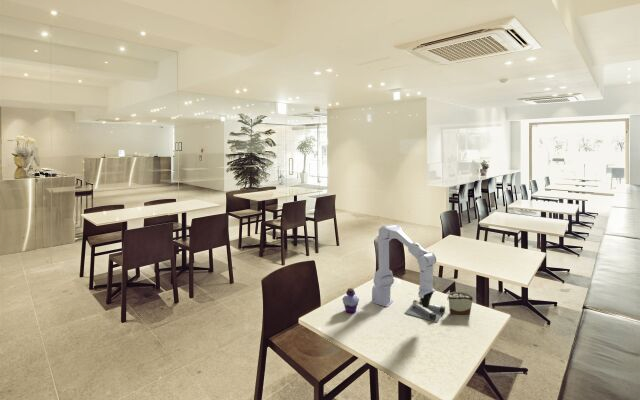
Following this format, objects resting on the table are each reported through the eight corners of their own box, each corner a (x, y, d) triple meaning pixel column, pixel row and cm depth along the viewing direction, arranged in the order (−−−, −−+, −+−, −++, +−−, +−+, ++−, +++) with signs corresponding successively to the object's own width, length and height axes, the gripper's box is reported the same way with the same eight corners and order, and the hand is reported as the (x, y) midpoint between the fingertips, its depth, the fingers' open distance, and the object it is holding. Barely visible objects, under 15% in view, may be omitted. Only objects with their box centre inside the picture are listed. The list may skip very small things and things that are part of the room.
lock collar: (419, 302, 172) (419, 298, 171) (421, 300, 174) (421, 296, 174) (424, 303, 170) (424, 299, 170) (425, 301, 173) (426, 297, 172)
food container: (468, 309, 169) (469, 291, 168) (472, 315, 163) (474, 296, 162) (443, 309, 170) (444, 290, 169) (447, 315, 164) (447, 296, 163)
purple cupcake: (359, 307, 174) (358, 285, 172) (359, 315, 166) (359, 293, 164) (342, 307, 175) (342, 285, 173) (342, 315, 167) (341, 292, 165)
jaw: (411, 306, 173) (411, 300, 172) (415, 305, 174) (415, 299, 173) (432, 320, 159) (432, 313, 158) (436, 318, 160) (436, 312, 159)
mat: (404, 313, 167) (404, 312, 167) (413, 303, 177) (413, 302, 177) (437, 322, 158) (437, 321, 158) (444, 311, 168) (444, 310, 168)
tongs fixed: (413, 305, 174) (413, 300, 174) (414, 303, 176) (414, 299, 175) (443, 313, 165) (444, 308, 165) (444, 311, 167) (445, 306, 167)
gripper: (430, 286, 144) (429, 315, 146) (439, 275, 155) (438, 302, 158) (414, 282, 148) (413, 311, 150) (424, 272, 160) (423, 299, 162)
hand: (425, 306), depth 154 cm, fingers closed
